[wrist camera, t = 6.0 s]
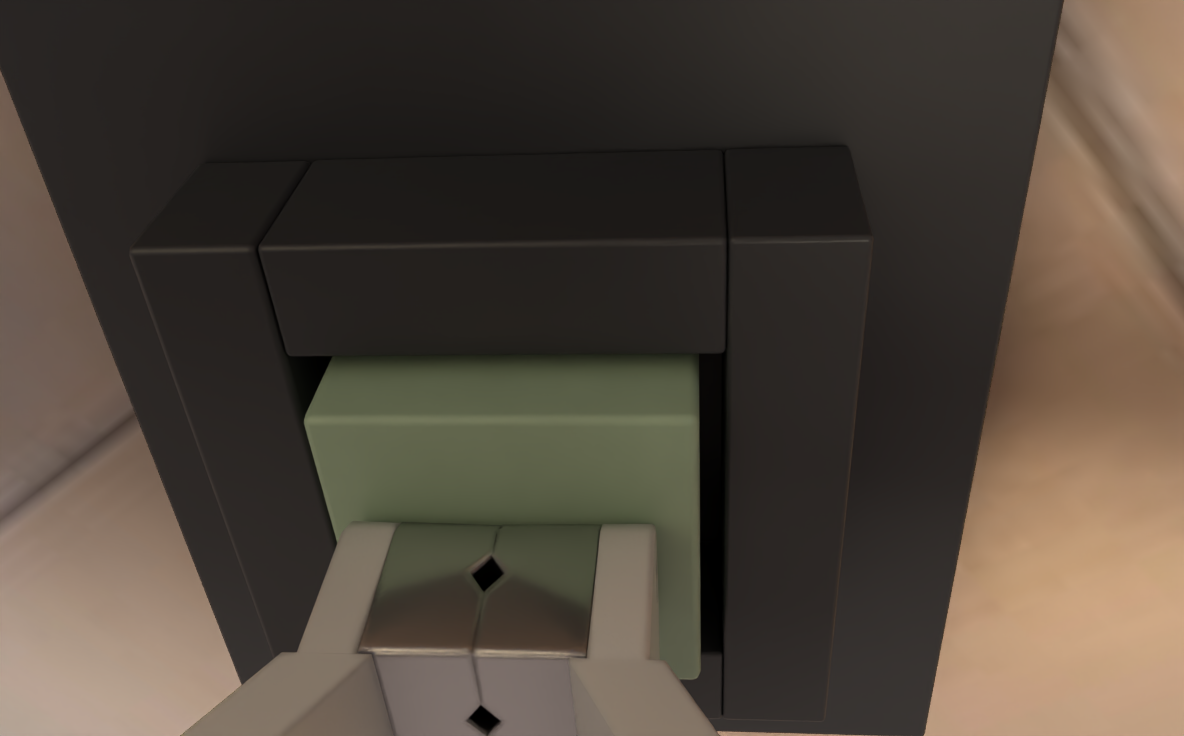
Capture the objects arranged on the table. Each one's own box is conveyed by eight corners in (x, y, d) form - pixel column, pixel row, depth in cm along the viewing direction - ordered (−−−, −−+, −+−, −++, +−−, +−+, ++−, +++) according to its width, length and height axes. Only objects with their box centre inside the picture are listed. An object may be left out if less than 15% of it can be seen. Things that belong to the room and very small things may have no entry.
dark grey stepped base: (-7, -150, 11) (-214, -65, 8) (1060, -209, 10) (1185, -136, 7) (278, 657, 18) (211, 829, 15) (911, 670, 17) (948, 857, 14)
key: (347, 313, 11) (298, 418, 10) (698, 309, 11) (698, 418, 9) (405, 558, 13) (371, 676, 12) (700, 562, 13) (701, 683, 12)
